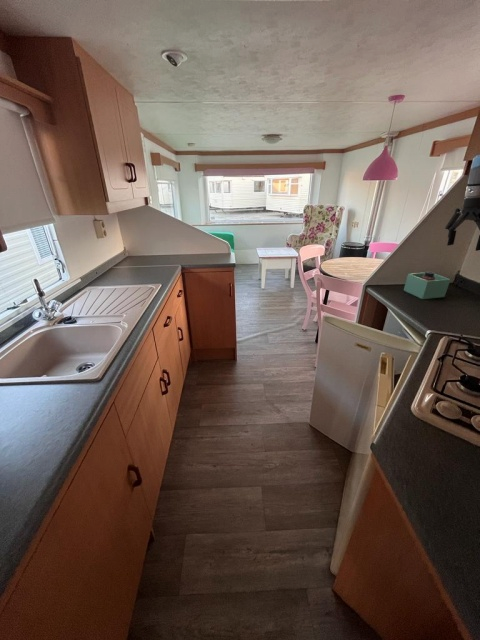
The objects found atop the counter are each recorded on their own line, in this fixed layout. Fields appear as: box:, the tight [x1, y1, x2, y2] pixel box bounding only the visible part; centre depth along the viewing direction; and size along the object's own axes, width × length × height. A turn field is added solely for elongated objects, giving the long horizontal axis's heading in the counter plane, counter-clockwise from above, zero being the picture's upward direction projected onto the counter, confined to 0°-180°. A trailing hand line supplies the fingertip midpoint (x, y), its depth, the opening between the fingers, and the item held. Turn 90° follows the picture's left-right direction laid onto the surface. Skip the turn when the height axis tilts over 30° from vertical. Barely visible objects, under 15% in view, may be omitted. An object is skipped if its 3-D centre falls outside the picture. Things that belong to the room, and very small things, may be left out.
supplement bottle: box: [422, 270, 435, 281], centre depth 143 cm, size 6×6×11 cm
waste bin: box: [403, 271, 451, 300], centre depth 144 cm, size 14×14×10 cm
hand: (463, 247), depth 120 cm, fingers open, 13 cm apart
